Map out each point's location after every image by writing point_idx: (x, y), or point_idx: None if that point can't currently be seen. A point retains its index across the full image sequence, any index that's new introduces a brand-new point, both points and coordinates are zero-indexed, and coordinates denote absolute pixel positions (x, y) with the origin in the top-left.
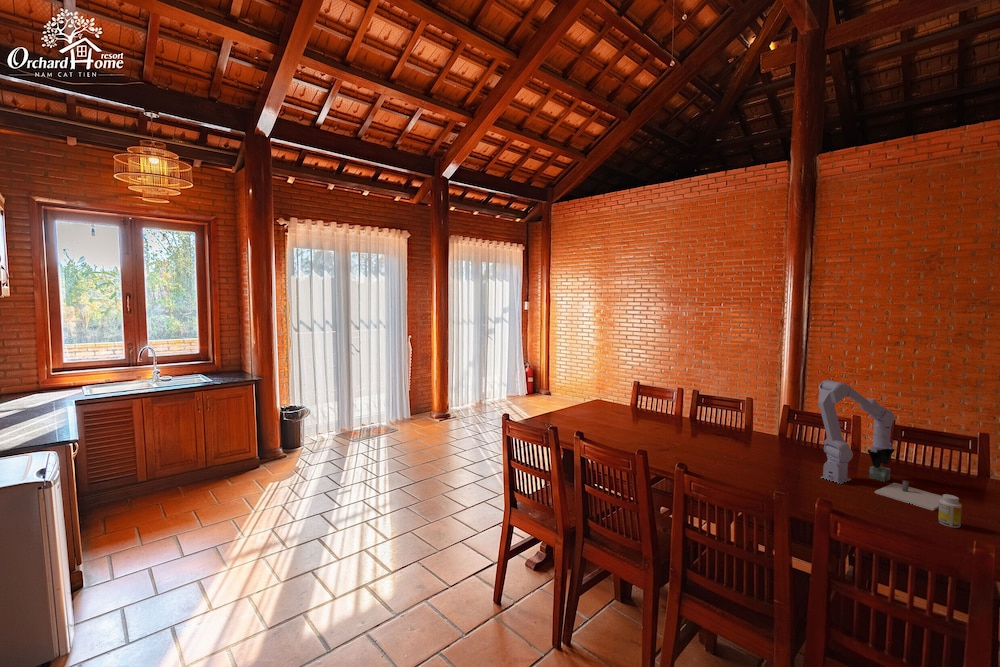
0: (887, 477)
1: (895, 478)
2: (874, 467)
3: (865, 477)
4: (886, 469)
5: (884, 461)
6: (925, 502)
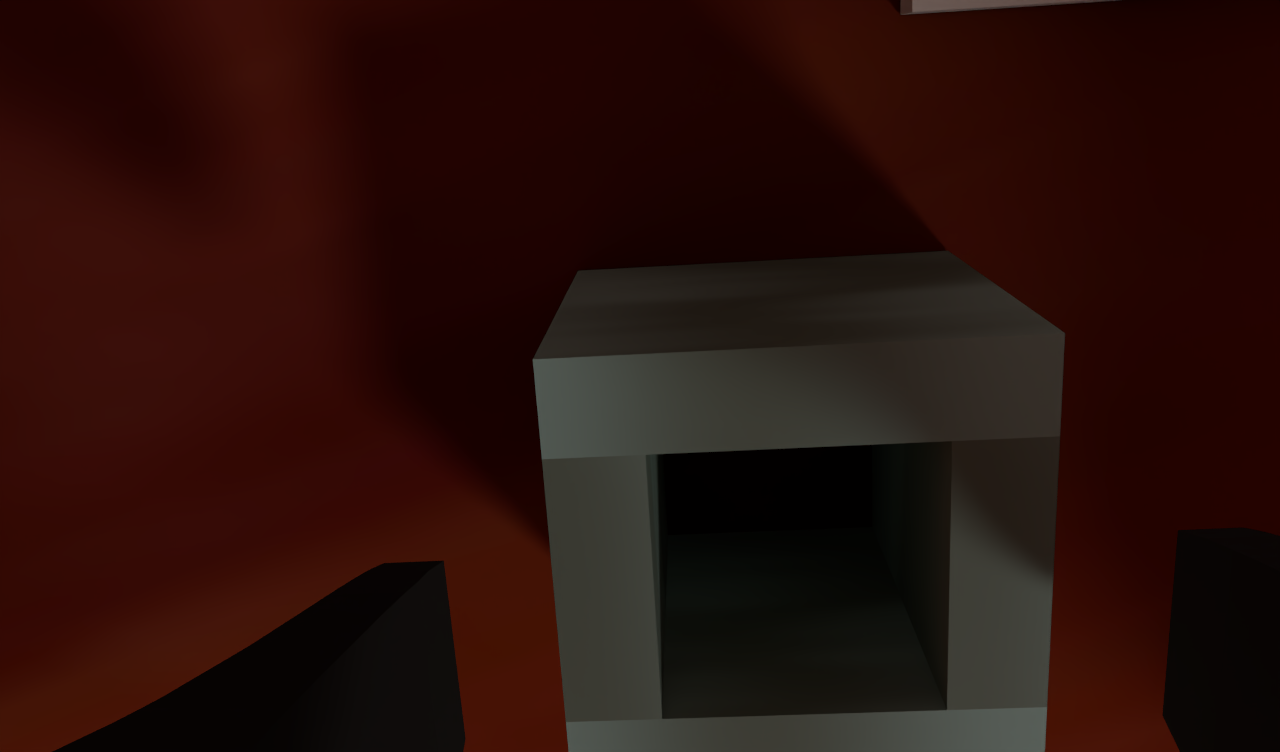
0: (747, 281)
1: (302, 249)
2: (957, 692)
3: None
4: (795, 385)
5: (430, 705)
6: None
